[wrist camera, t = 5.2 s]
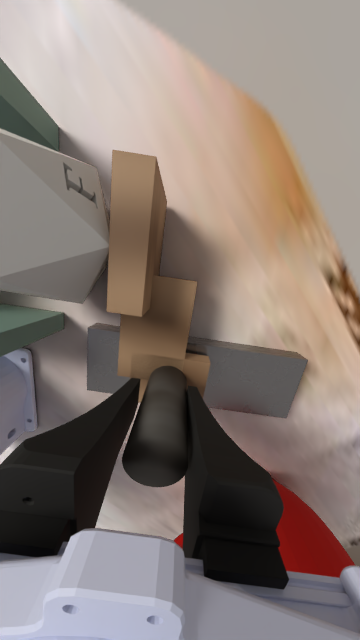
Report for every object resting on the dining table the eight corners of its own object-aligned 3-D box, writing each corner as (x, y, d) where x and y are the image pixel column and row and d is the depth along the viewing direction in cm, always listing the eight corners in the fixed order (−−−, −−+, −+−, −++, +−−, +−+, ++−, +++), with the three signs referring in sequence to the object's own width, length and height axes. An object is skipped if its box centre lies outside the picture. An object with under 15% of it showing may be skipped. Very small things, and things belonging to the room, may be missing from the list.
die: (123, 309, 16) (139, 241, 7) (-2, 324, 12) (-289, 228, 3) (108, 229, 17) (105, 84, 8) (-10, 222, 13) (-238, -39, 5)
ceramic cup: (170, 439, 19) (156, 613, 9) (322, 458, 19) (466, 649, 9) (159, 518, 22) (140, 707, 12) (289, 534, 22) (369, 732, 13)
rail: (277, 406, 17) (286, 418, 16) (95, 380, 17) (87, 390, 16) (296, 352, 16) (307, 360, 14) (96, 322, 16) (87, 327, 14)
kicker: (198, 390, 17) (211, 505, 8) (126, 380, 17) (67, 486, 8) (233, 212, 13) (326, 94, 4) (140, 197, 13) (54, 49, 4)
